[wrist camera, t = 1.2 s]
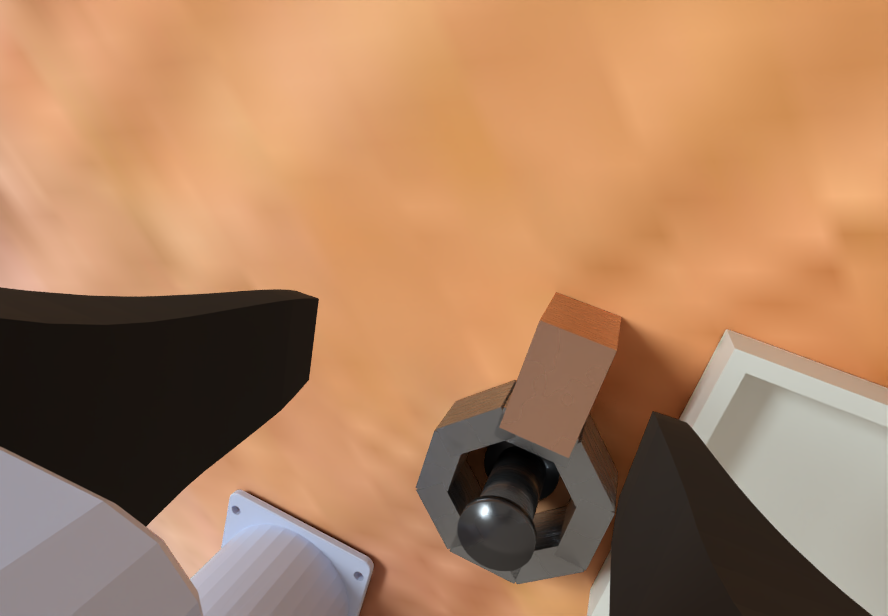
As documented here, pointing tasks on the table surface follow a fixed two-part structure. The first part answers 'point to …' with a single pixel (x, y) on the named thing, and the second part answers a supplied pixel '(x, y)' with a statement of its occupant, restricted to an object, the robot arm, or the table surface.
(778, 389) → the tray
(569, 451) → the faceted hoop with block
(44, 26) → the table surface
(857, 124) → the table surface
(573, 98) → the table surface
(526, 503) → the knob
